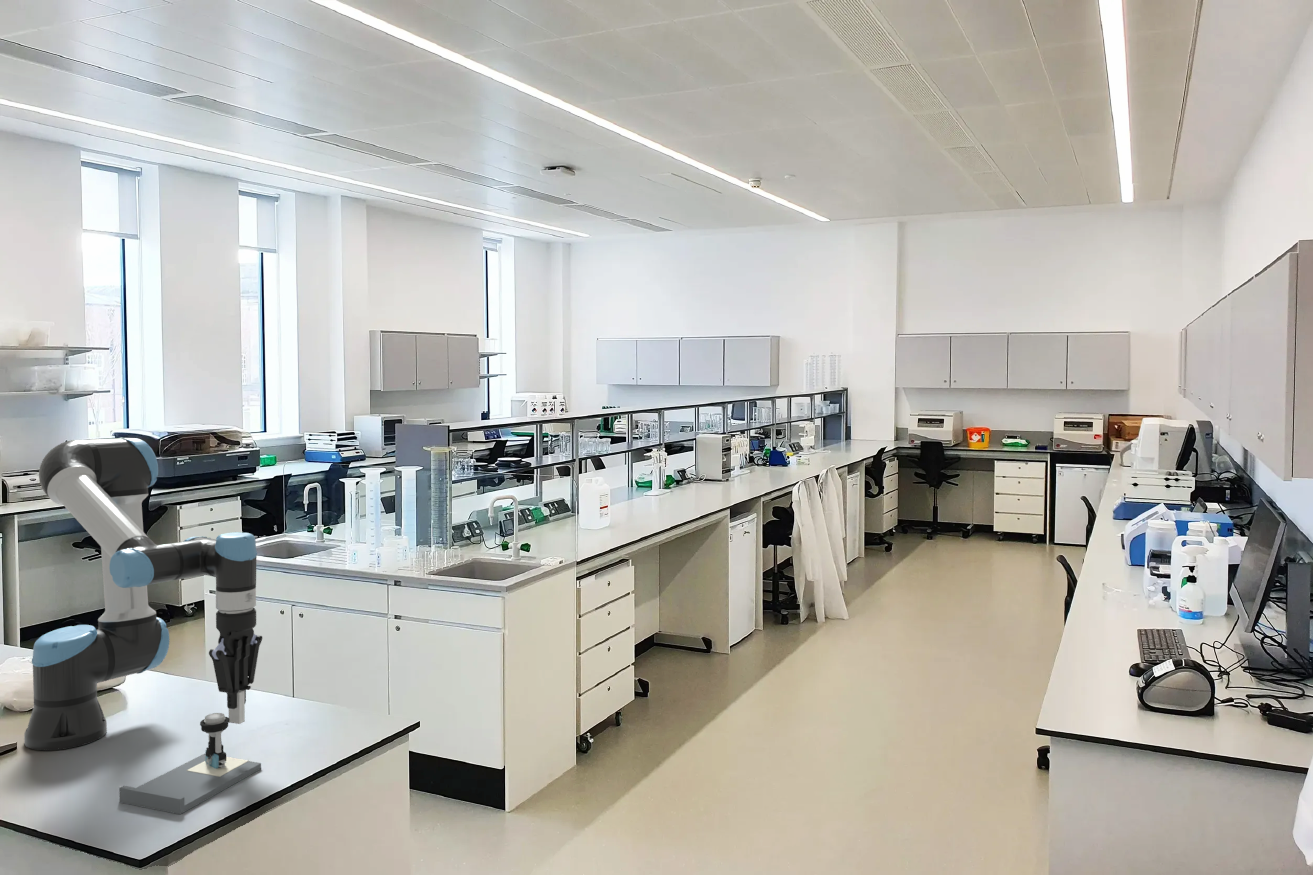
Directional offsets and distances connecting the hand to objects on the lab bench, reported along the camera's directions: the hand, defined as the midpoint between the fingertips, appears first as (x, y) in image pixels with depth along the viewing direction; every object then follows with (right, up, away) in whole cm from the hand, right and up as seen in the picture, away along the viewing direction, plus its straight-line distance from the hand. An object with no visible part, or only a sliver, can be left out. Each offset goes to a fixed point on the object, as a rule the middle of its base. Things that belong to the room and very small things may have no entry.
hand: (236, 721), depth 191 cm
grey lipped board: (-4, -9, -11) cm, 14 cm away
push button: (-2, -8, -5) cm, 9 cm away
